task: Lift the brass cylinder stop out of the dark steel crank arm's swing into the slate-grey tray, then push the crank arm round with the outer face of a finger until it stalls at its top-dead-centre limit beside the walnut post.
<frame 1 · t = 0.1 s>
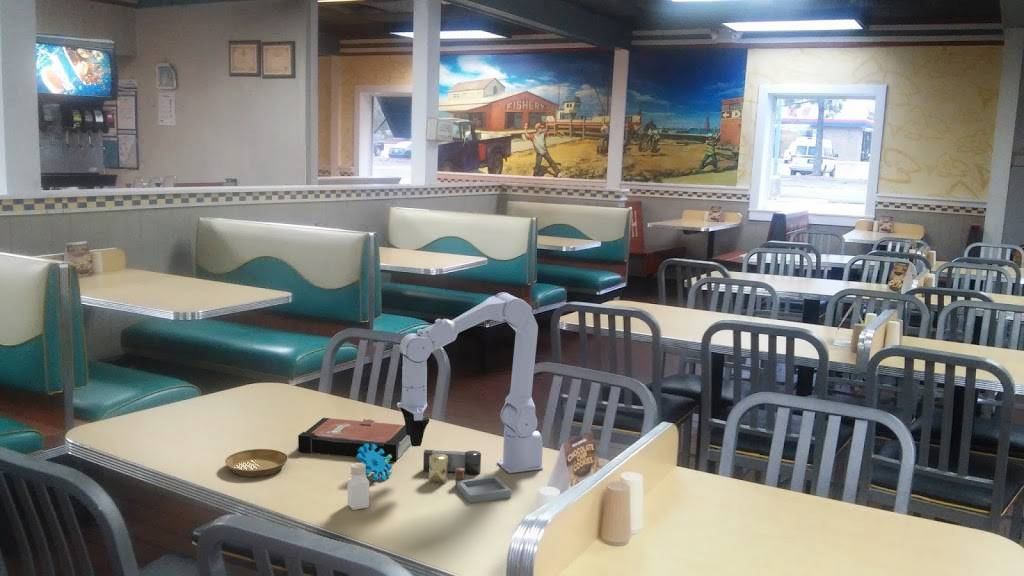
hand: (413, 440, 208), 10 cm above the table, fingers open, 7 cm apart
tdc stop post: (459, 485, 207), on the table
tray: (483, 492, 204), on the table
salt shaker: (358, 507, 194), on the table
shallow brown basket: (257, 469, 214), on the table
gear: (375, 477, 212), on the table
book: (358, 448, 232), on the table
crank: (452, 461, 216), point 3 cm above the table, hinge at 0.0°
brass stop: (438, 480, 210), on the table
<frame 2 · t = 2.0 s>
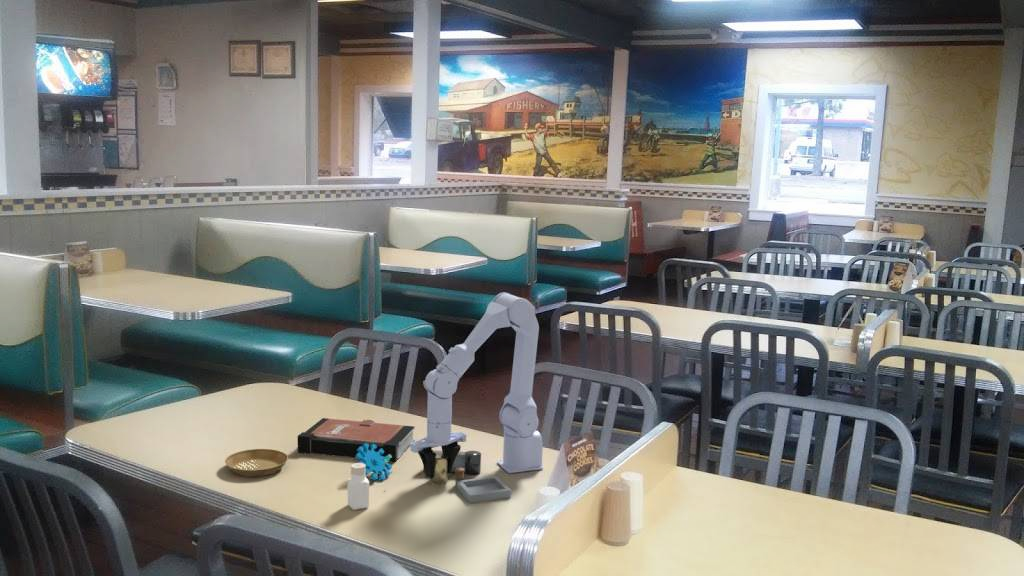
hand: (438, 475, 210), 1 cm above the table, fingers closed on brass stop, 4 cm apart
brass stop: (438, 480, 210), on the table, touching gripper
when the fingers open (4 cm above the table, at t = 6.9 s): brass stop drops 1 cm, resting on tray.
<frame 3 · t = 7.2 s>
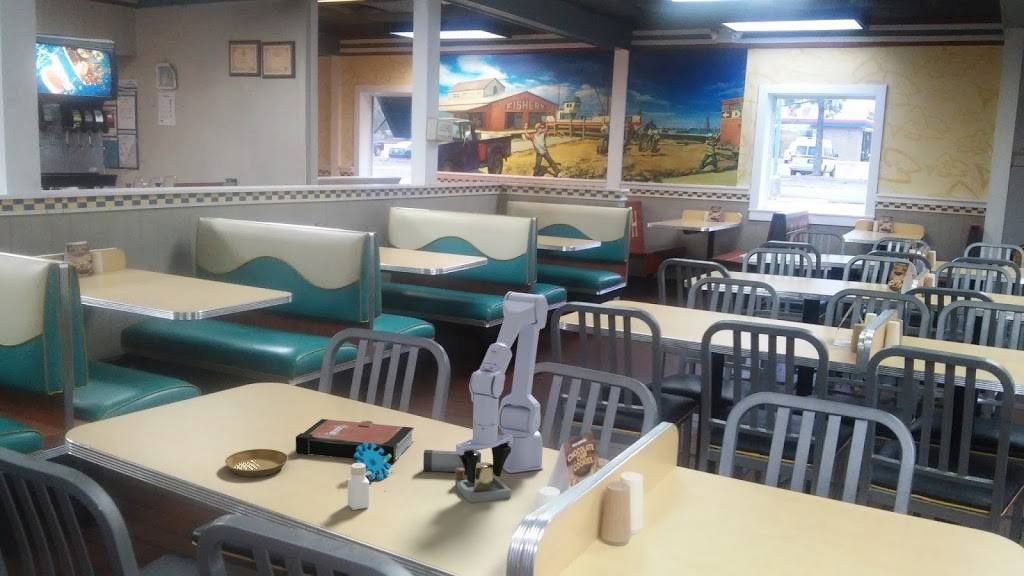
hand: (483, 478, 203), 4 cm above the table, fingers open, 7 cm apart
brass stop: (483, 490, 203), point 1 cm above the table, touching tray
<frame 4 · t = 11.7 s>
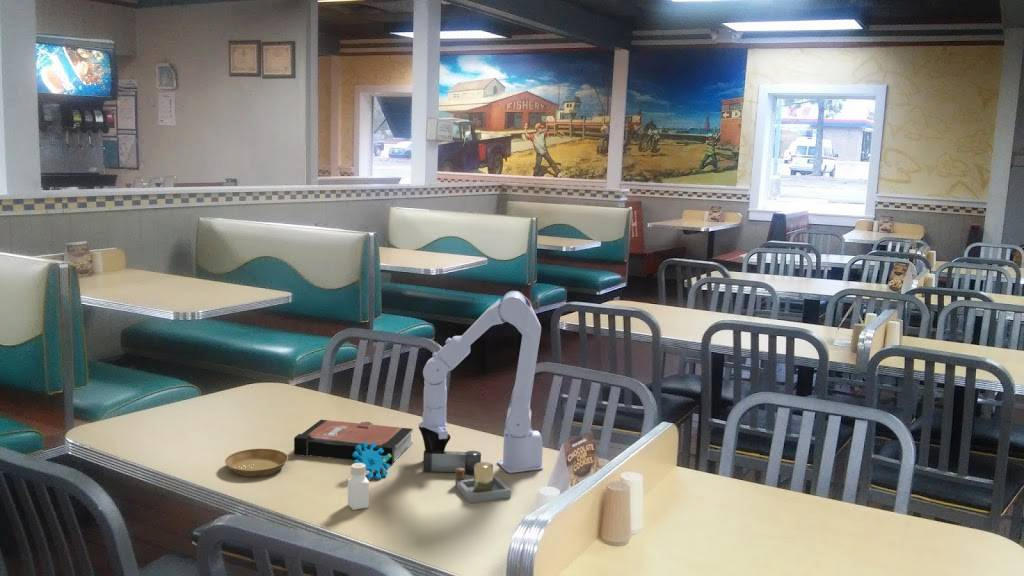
hand: (433, 457, 221), 1 cm above the table, fingers open, 5 cm apart
crank: (452, 461, 216), point 3 cm above the table, hinge at 1.6°, touching gripper
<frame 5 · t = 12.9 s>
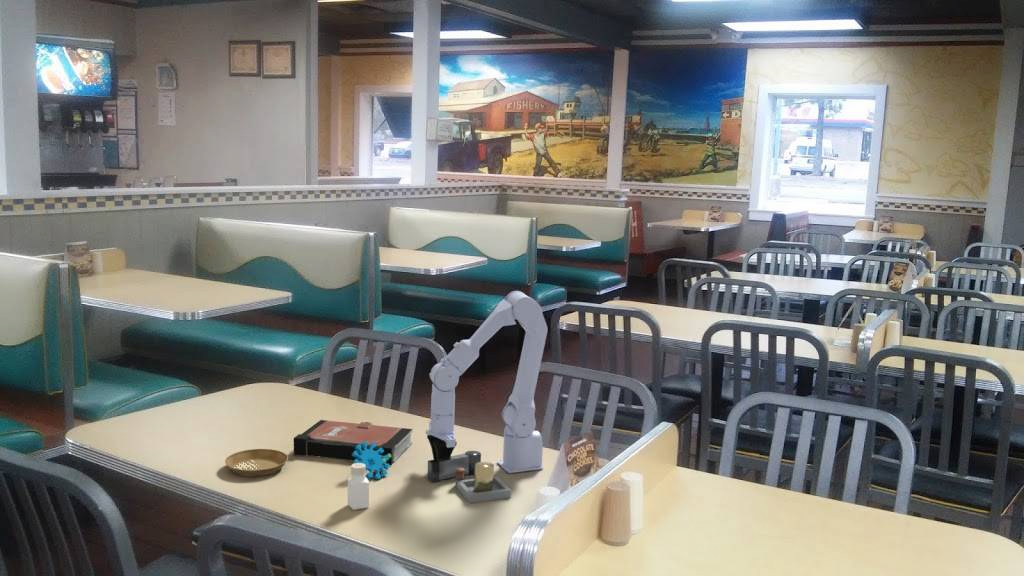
hand: (440, 465, 215), 2 cm above the table, fingers open, 3 cm apart
crank: (455, 466, 213), point 3 cm above the table, hinge at 36.5°, touching gripper
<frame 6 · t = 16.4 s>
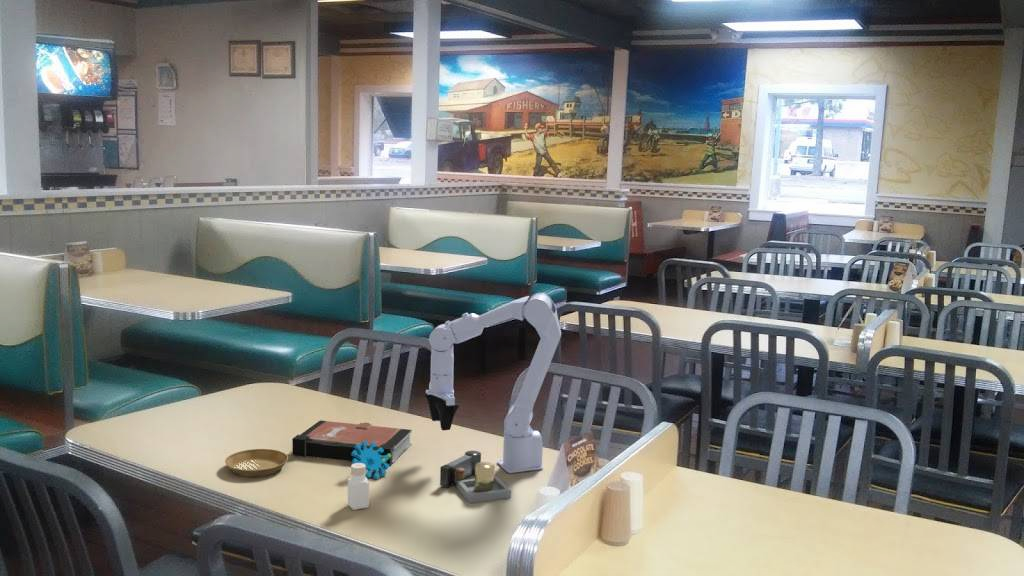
hand: (440, 425, 222), 9 cm above the table, fingers open, 7 cm apart
crank: (461, 468, 211), point 3 cm above the table, hinge at 60.5°
at the end: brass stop 0.1 cm off-centre on the tray, point 0.7 cm above the tray's base; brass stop tilted 3°; crank at +60° (first picture: +0°) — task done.
